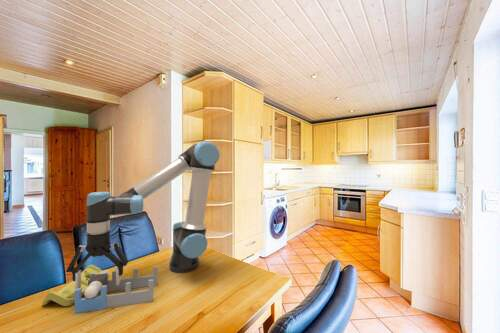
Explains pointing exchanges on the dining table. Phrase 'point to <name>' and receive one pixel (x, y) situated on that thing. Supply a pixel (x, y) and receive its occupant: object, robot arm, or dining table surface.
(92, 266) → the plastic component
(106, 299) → the blue peg rack
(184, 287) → the dining table surface
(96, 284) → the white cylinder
